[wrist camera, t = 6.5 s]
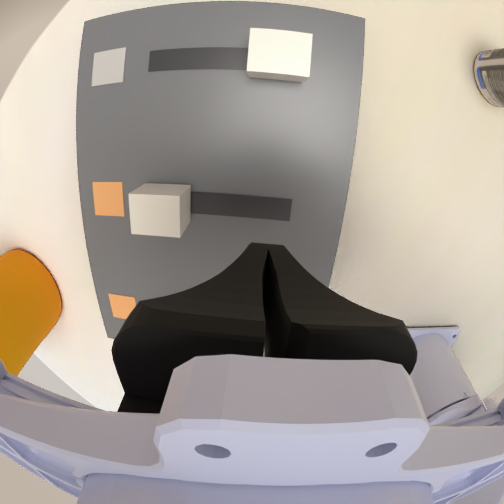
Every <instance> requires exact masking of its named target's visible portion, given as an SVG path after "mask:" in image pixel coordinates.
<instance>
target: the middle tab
mask: <svg viewBox="0 0 504 504" xmlns="http://www.w3.org/2000/svg"><path fill="white" fill-rule="evenodd" d="M128 195H129V211H130V224H131V234H138V235H151V236H164V237H176V238H180V237H181V236H182V234H183V233H184V231H185V230H186V228H187V227H188V225H189V223H190V222H191V221H190V207H191V185H183V184H156V183H144V184H143V185H141V186H140V187H138V188H137V189H135V190H134V191H132V192H131V193H129V194H128Z"/></svg>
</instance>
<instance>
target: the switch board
mask: <svg viewBox="0 0 504 504" xmlns="http://www.w3.org/2000/svg"><path fill="white" fill-rule="evenodd" d="M250 28H264V29H277V30H287V31H295V32H303V33H310V34H313V37H312V51H311V64H310V77H309V78H308V79H307V80H306V81H305V82H303V83H301V82H293V81H285V80H275V79H263V78H249V76H248V73H247V60H248V48H249V37H250ZM364 37H365V18H361V17H357V16H353V15H349V14H344V13H339V12H335V11H329V10H324V9H318V8H312V7H305V6H298V5H290V4H280V3H268V2H249V1H210V2H191V3H179V4H170V5H162V6H154V7H148V8H142V9H136V10H130V11H125V12H121V13H116V14H112V15H107V16H103V17H99V18H96V19H92V20H88V21H85V22H84V28H83V35H82V42H81V50H80V59H79V70H78V84H77V106H76V142H77V166H78V180H79V192H80V201H81V210H82V218H83V225H84V232H85V239H86V245H87V251H88V256H89V262H90V267H91V272H92V277H93V281H94V286H95V290H96V295H97V299H98V303H99V307H100V311H101V315H102V318H103V322H104V326H105V329H106V333H107V336H108V338H112V339H115V338H116V336H117V334H118V332H119V331H120V329H121V327H122V326H123V324H124V322H125V320H126V319H127V317H128V316H129V314H130V313H131V311H132V310H133V309H134V308H135V306H136V305H137V304H138V302H139V301H141V300H147V299H153V298H158V297H163V296H168V295H172V294H175V293H178V292H182V291H184V290H187V289H190V288H192V287H195V286H197V285H199V284H201V283H203V282H205V281H208V280H209V279H211V278H213V277H214V276H216V275H218V274H219V273H221V272H222V271H223V270H224V269H226V268H227V267H228V266H229V265H230V264H232V263H233V262H234V261H235V260H236V259H237V258H238V257H239V256H240V255H241V254H242V253H243V251H244V250H245V249H246V248H247V246H248V245H249V244H250V243H251V242H254V243H266V244H277V245H284V246H285V247H286V248H287V250H288V251H289V252H290V253H291V254H292V256H293V257H294V258H295V259H296V260H297V261H298V262H299V263H300V264H301V265H302V266H303V267H304V268H305V269H306V270H307V271H308V272H309V273H310V274H311V275H312V276H313V277H315V278H316V279H317V280H318V281H319V282H321V283H322V284H324V285H325V286H326V287H328V286H329V282H330V278H331V274H332V269H333V265H334V260H335V256H336V251H337V246H338V242H339V237H340V232H341V227H342V221H343V216H344V211H345V205H346V200H347V194H348V188H349V182H350V175H351V169H352V162H353V155H354V148H355V141H356V133H357V125H358V116H359V106H360V96H361V85H362V72H363V57H364ZM144 183H156V184H183V185H191V207H190V221H191V222H190V223H189V225H188V227H187V228H186V230H185V231H184V233H183V234H182V236H181V237H180V238H176V237H164V236H151V235H138V234H131V224H130V211H129V195H128V194H129V193H131V192H132V191H134V190H135V189H137V188H138V187H140V186H141V185H143V184H144ZM263 357H265V350H264V352H263Z"/></svg>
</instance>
